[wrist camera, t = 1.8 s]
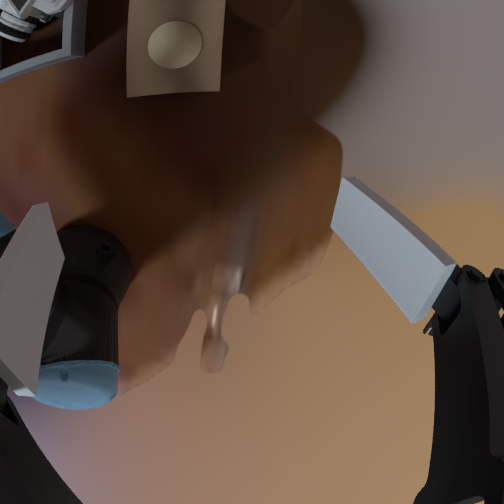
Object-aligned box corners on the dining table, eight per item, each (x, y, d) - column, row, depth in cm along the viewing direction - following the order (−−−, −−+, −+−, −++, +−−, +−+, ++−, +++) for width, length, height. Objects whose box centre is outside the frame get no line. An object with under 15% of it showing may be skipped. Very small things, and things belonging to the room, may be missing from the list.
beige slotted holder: (134, 91, 28) (126, 98, 22) (143, -48, 16) (141, -74, 10) (207, 86, 31) (220, 91, 24) (217, -49, 19) (234, -74, 12)
